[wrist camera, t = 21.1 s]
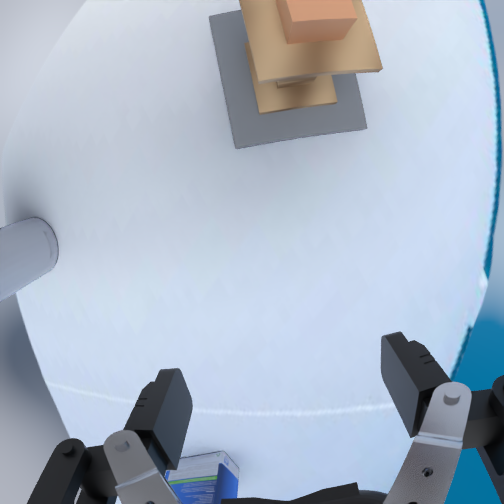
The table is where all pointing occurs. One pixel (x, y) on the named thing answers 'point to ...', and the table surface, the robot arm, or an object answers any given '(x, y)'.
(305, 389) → the table surface
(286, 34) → the cube
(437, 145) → the table surface
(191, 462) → the string lights box
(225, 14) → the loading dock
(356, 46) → the wooden pedestal
